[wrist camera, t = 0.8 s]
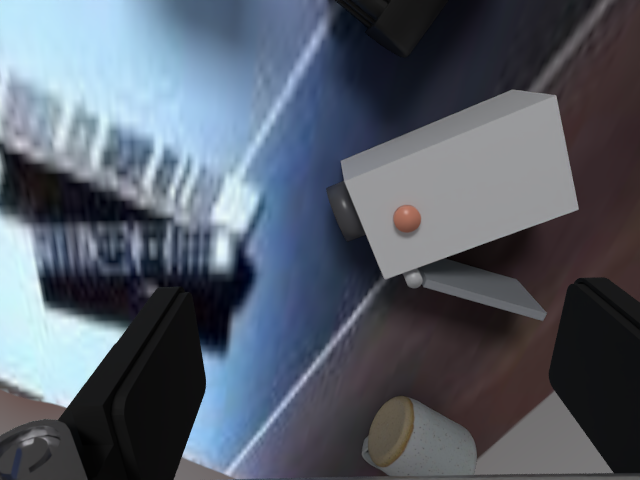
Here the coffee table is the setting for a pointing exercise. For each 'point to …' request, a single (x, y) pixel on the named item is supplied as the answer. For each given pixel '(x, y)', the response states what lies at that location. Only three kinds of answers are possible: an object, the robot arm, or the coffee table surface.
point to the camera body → (457, 182)
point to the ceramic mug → (418, 441)
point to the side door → (475, 286)
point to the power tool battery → (395, 20)
